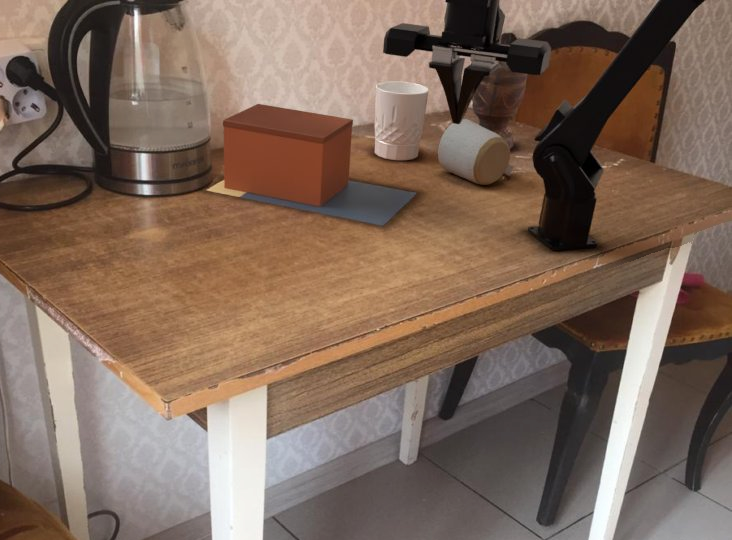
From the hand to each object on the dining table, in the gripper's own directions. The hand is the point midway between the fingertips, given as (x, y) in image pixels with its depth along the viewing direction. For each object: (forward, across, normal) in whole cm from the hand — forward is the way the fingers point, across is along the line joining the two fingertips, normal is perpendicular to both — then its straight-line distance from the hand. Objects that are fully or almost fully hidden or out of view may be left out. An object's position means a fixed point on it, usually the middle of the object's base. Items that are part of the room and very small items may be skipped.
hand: (456, 123), depth 105 cm
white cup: (+12, +14, -22) cm, 29 cm away
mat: (+12, +18, 0) cm, 22 cm away
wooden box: (+12, +22, 0) cm, 25 cm away
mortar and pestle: (+12, +3, -34) cm, 36 cm away
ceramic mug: (+12, 0, -18) cm, 22 cm away
